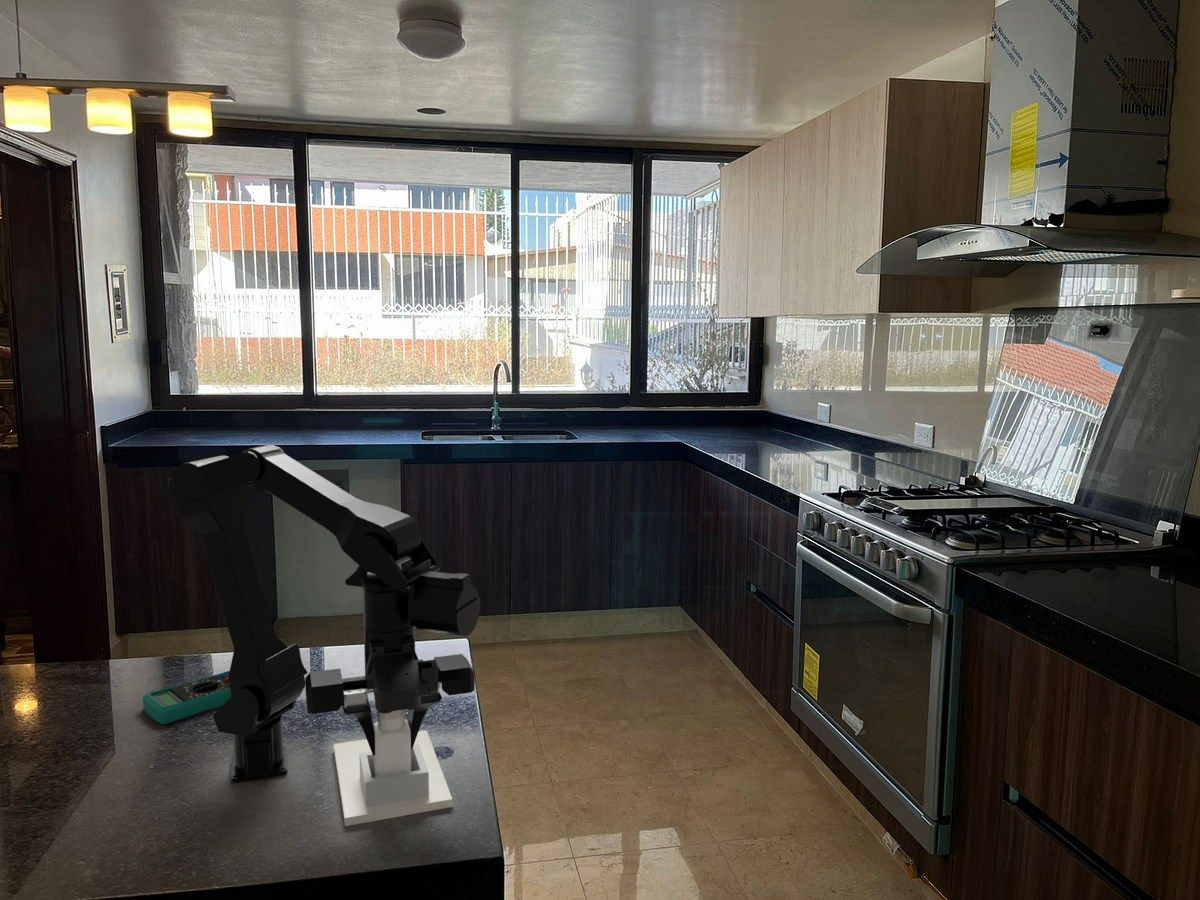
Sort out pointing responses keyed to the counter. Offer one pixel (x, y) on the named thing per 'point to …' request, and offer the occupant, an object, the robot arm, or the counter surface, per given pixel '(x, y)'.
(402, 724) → the pepper shaker
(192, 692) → the digital multimeter
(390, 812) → the outlet plate
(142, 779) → the counter surface
